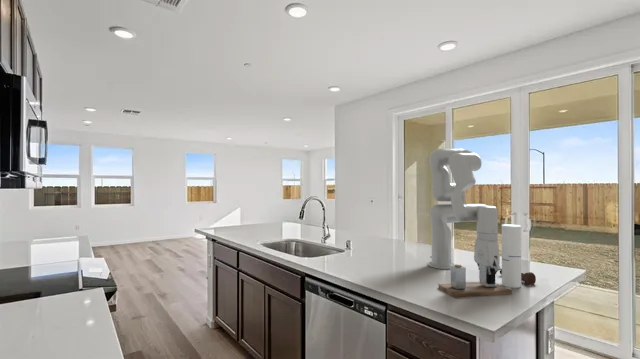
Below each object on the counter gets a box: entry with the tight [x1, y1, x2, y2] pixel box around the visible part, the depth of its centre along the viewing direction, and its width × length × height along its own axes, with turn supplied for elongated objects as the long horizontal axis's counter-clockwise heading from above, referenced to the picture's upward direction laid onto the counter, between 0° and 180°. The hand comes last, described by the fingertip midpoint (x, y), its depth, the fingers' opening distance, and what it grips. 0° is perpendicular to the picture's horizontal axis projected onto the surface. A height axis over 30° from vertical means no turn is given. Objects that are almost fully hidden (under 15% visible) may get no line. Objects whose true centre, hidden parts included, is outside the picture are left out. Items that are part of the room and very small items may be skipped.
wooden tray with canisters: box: [438, 263, 513, 299], centre depth 134 cm, size 12×24×11 cm, turn 100°
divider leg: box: [479, 264, 495, 287], centre depth 135 cm, size 4×4×9 cm
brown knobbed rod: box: [499, 268, 537, 286], centre depth 149 cm, size 6×5×15 cm
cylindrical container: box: [501, 223, 522, 289], centre depth 142 cm, size 7×7×25 cm
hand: (487, 281), depth 135 cm, fingers closed on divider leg, 4 cm apart
